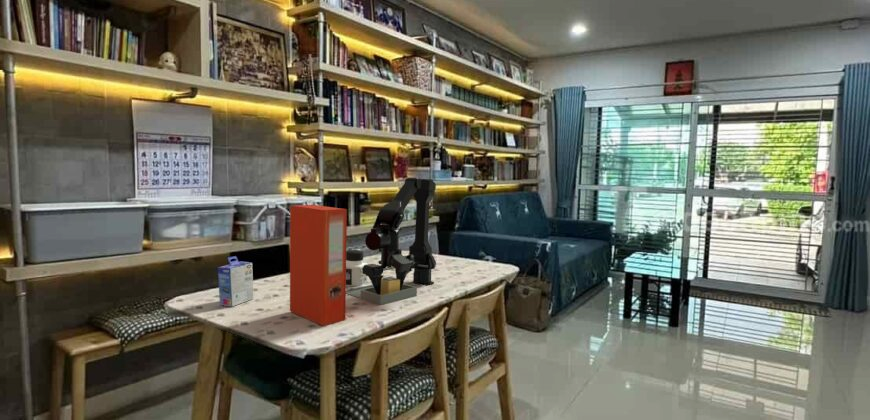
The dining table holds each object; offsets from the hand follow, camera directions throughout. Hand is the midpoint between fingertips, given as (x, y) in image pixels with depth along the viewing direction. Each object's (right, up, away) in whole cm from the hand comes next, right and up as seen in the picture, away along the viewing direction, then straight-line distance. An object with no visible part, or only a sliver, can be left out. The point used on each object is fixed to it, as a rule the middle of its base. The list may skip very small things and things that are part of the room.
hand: (389, 292), depth 156 cm
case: (0, -2, 0) cm, 2 cm away
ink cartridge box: (-48, -2, -7) cm, 48 cm away
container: (-15, -1, +18) cm, 23 cm away
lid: (-8, -1, +7) cm, 11 cm away
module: (0, -2, 0) cm, 2 cm away
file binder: (-19, -4, -19) cm, 27 cm away
